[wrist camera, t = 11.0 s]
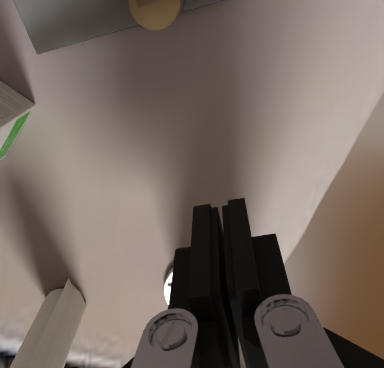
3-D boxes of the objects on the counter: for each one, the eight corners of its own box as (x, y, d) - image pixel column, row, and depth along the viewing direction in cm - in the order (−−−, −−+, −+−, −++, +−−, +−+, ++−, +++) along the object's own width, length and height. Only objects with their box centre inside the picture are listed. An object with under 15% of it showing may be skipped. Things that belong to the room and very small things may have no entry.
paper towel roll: (69, 321, 57) (1, 486, 39) (38, 299, 55) (-49, 462, 37) (100, 300, 55) (44, 466, 36) (69, 277, 53) (-8, 439, 34)
